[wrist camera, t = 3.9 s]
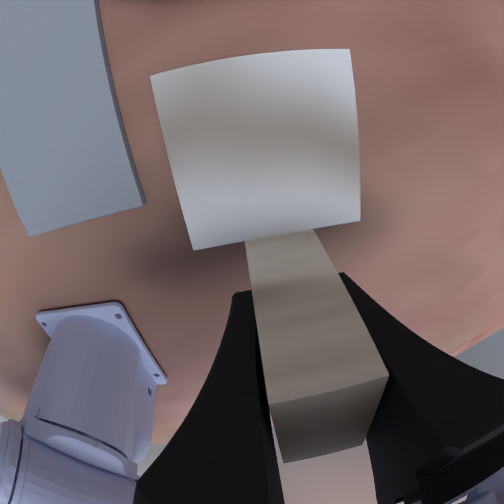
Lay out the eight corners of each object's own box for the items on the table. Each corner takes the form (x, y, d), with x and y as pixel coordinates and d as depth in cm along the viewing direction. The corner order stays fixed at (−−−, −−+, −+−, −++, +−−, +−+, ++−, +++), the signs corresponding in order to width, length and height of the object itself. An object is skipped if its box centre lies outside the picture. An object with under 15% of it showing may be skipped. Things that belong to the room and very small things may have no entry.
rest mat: (145, 200, 15) (143, 205, 14) (33, 232, 15) (29, 237, 14) (91, -68, 6) (87, -72, 5) (-22, 3, 6) (-28, 3, 5)
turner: (350, 292, 13) (414, 426, 7) (218, 317, 13) (223, 470, 7) (340, 51, 8) (509, 34, 2) (155, 76, 8) (23, 70, 2)
